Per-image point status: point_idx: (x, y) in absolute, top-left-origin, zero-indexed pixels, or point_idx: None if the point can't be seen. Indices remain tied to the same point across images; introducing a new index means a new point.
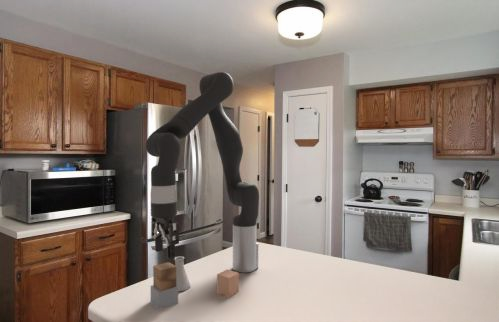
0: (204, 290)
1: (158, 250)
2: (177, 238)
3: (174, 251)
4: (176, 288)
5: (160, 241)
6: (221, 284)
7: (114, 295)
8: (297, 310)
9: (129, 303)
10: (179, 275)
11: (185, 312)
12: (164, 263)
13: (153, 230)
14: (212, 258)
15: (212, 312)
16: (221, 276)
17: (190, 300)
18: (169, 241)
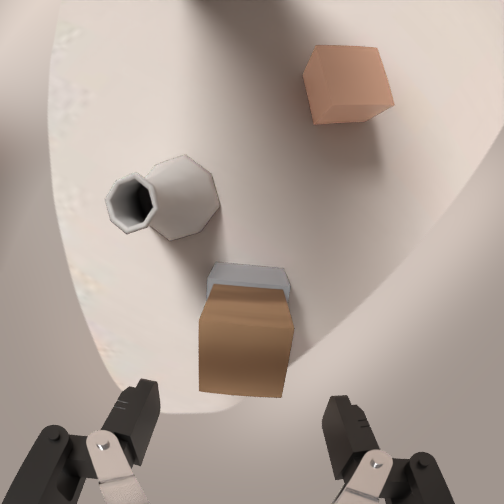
0: (266, 143)
1: (158, 404)
2: (436, 484)
3: (368, 427)
4: (288, 291)
5: (138, 434)
6: (344, 114)
7: (114, 362)
8: (491, 95)
9: (183, 362)
10: (183, 213)
11: (348, 283)
12: (202, 345)
13: (77, 495)
14: (74, 9)
15: (401, 227)
16: (354, 105)
17: (297, 227)
18: (387, 501)
